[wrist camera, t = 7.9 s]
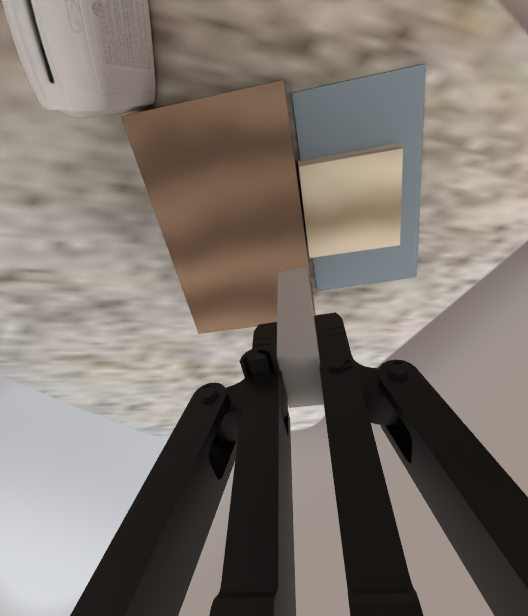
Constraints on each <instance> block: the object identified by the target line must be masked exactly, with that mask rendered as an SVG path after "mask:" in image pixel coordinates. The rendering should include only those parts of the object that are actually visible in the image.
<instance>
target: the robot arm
mask: <svg viewBox="0 0 528 616" xmlns="http://www.w3.org/2000/svg"><path fill="white" fill-rule="evenodd" d="M252 346H253V347H252V349H251V350H249V351H248V352H246V353H245V354H244V355H243V356H242V357H241V359H240V364H241V367H242V370H243V373H244V376H245V378H244V379H243V380H242V381H241V382H239V383H237V384H235V385H233V386H230V387H227V388H225V387H224V386H223V385H222V384H220V383H208V384H206V385H203V386H202V387H200V388H199V389H197V391H196V392H195V393H194V394H193V396H192V398H191V400H190V402H189V403H188V405H187V407H186V409H185V411H184V412H183V414H182V416H181V418H180V419H179V421H178V423H177V425H176V427H175V428H174V430H173V432H172V434H171V436H170V437H169V439H168V441H167V443H166V445H165V446H164V448H163V450H162V452H161V454H160V455H159V457H158V459H157V461H156V463H155V464H154V466H153V468H152V470H151V472H150V473H149V475H148V477H147V479H146V481H145V482H144V484H143V486H142V488H141V490H140V491H139V493H138V495H137V497H136V498H135V500H134V502H133V504H132V506H131V507H130V509H129V511H128V513H127V515H126V516H125V518H124V520H123V522H122V524H121V526H120V527H119V529H118V531H117V533H116V534H115V536H114V538H113V540H112V541H111V543H110V545H109V547H108V549H107V550H106V552H105V554H104V556H103V558H102V559H101V561H100V563H99V565H98V567H97V569H96V570H95V572H94V574H93V576H92V578H91V579H90V581H89V583H88V585H87V586H86V588H85V590H84V592H83V594H82V595H81V597H80V599H79V601H78V602H77V604H76V606H75V608H74V610H73V611H72V613H71V615H70V616H178V615H179V612H180V609H181V606H182V604H183V601H184V598H185V596H186V593H187V590H188V587H189V585H190V582H191V579H192V576H193V574H194V571H195V568H196V566H197V563H198V560H199V557H200V555H201V552H202V549H203V546H204V544H205V541H206V538H207V536H208V533H209V530H210V527H211V524H212V522H213V519H214V517H215V514H216V511H217V508H218V506H219V503H220V500H221V497H222V495H223V492H224V489H225V486H226V483H227V480H228V478H229V476H230V472H231V470H232V467H233V465H234V462H235V468H234V476H233V485H232V494H231V504H230V512H229V520H228V530H227V538H226V547H225V556H224V565H223V573H222V582H221V588H220V592H219V594H218V595H217V596H216V597H215V599H214V600H213V603H212V606H211V611H210V616H296V599H295V568H294V536H293V502H292V471H291V437H290V417H289V413H288V405H289V408H292V407H302V406H311V405H320V404H324V408H325V416H326V424H327V432H328V439H329V447H330V455H331V463H332V471H333V478H334V485H335V494H336V501H337V509H338V517H339V525H340V533H341V541H342V548H343V556H344V564H345V572H346V580H347V588H348V598H349V607H350V616H423V613H422V609H421V606H420V602H419V599H418V596H417V593H416V591H415V590H414V588H413V586H412V583H411V580H410V576H409V572H408V568H407V564H406V560H405V556H404V553H403V549H402V545H401V541H400V537H399V533H398V529H397V525H396V522H395V517H394V513H393V509H392V505H391V502H390V498H389V494H388V490H387V486H386V482H385V478H384V474H383V470H382V466H381V462H380V458H379V454H378V450H377V447H376V442H375V439H374V435H373V431H372V427H371V423H374V424H380V425H381V428H382V429H383V431H384V433H385V434H386V436H387V438H388V439H389V441H390V443H391V444H392V446H393V448H394V449H395V451H396V453H397V454H398V456H399V458H400V459H401V461H402V463H403V464H404V466H405V468H406V469H407V471H408V473H409V474H410V476H411V477H412V479H413V481H414V483H415V484H416V486H417V487H418V489H419V491H420V493H421V494H422V496H423V498H424V499H425V501H426V503H427V504H428V506H429V507H430V509H431V511H432V513H433V514H434V516H435V517H436V519H437V521H438V523H439V524H440V526H441V527H442V529H443V531H444V532H445V534H446V536H447V537H448V539H449V541H450V542H451V544H452V546H453V547H454V549H455V551H456V552H457V554H458V556H459V557H460V559H461V561H462V562H463V564H464V566H465V567H466V569H467V571H468V572H469V574H470V575H471V577H472V579H473V580H474V582H475V584H476V586H477V587H478V589H479V591H480V592H481V594H482V596H483V597H484V599H485V601H486V602H487V604H488V606H489V607H490V609H491V611H492V612H493V614H494V616H528V497H527V496H526V495H525V493H524V492H523V491H522V490H521V489H520V488H519V487H518V485H517V484H516V483H515V482H514V481H513V480H512V478H511V477H510V476H509V475H508V474H507V473H506V472H505V470H504V469H503V468H502V467H501V466H500V465H499V463H498V462H497V461H496V460H495V459H494V458H493V456H492V455H491V454H490V453H489V452H488V451H487V449H486V448H485V447H484V446H483V445H482V444H481V443H480V442H479V440H478V439H477V438H476V437H475V436H474V434H473V433H472V432H471V431H470V430H469V429H468V428H467V426H466V425H465V424H464V423H463V422H462V421H461V419H460V418H459V417H458V416H457V415H456V414H455V412H454V411H453V410H452V409H451V408H450V407H449V405H448V404H447V403H446V402H445V401H444V400H443V399H442V397H441V396H440V395H439V394H438V393H437V392H436V391H435V389H434V388H433V387H432V386H431V385H430V384H429V382H428V381H427V380H426V379H425V378H424V376H423V375H422V374H421V373H420V372H419V371H418V370H417V368H416V367H414V366H413V365H412V364H410V363H408V362H406V361H403V360H390V361H387V362H385V363H383V364H382V365H381V366H380V367H379V368H370V367H365V366H363V365H360V364H358V363H357V362H356V361H355V360H354V359H353V357H352V355H351V351H350V347H349V343H348V339H347V335H346V331H345V328H344V324H343V320H342V318H341V317H340V316H339V315H338V314H337V313H329V314H322V315H315V316H314V311H313V304H312V298H311V291H310V285H309V278H308V272H307V268H301V269H295V270H289V271H283V272H278V305H277V322H271V323H264V324H259V325H258V326H257V328H256V329H255V331H254V335H253V345H252Z"/></svg>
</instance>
